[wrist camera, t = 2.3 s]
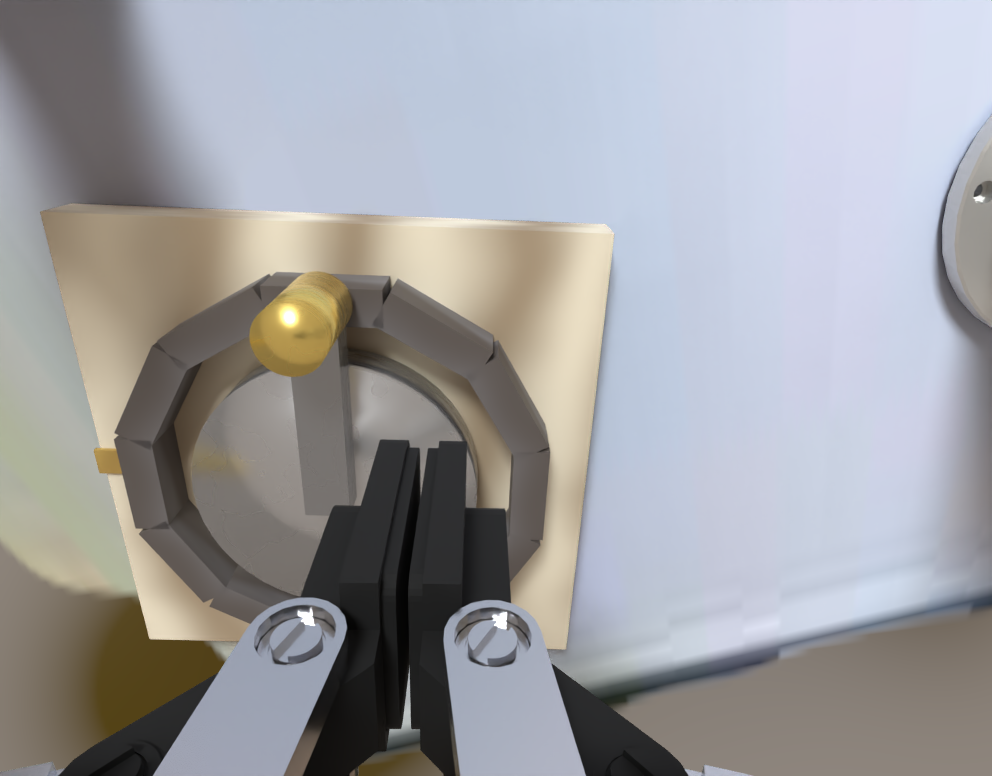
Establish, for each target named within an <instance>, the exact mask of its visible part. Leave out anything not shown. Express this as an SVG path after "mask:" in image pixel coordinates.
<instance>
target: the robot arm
mask: <svg viewBox="0 0 992 776" xmlns="http://www.w3.org/2000/svg"><path fill="white" fill-rule="evenodd" d="M942 254H943V258H944V263H945V267H946V271H947V276H948V279H949V281H950V283H951V285H952V287H953V289H954V291H955V293H956V295H957V297H958V299H959V300H960V301H961V302H962V303H963V304H964V306H965V307H966V308H967V309H968V310H969V311H970V312H971V313H972V315H973V316H974V317H976V318H977V319H979V320H980V321H982V322H984V323H985V324H987V325H988V326H990V327H991V328H992V115H991V116H990V118H989V119H988V120H987V121H986V123H985V124H984V125H983V127H982V128H981V129H980V131H979V132H978V133H977V135H976V137H975V138H974V140H973V142H972V144H971V145H970V147H969V149H968V151H967V153H966V154H965V156H964V158H963V160H962V162H961V163H960V165H959V168H958V170H957V173H956V176H955V178H954V181H953V184H952V186H951V189H950V192H949V195H948V198H947V203H946V209H945V214H944V219H943V225H942ZM466 469H467V441H439V447H438V448H428V451H427V458H426V465H425V472H424V478H423V485H422V492H421V482H420V448H415V447H410V443H409V440H387V439H381V440H380V441H379V445H378V448H377V451H376V455H375V458H374V462H373V465H372V469H371V472H370V475H369V479H368V482H367V486H366V489H365V493H364V496H363V499H362V503H361V506H353V505H335V506H334V507H333V508H332V510H331V513H330V515H329V518H328V521H327V524H326V527H325V529H324V532H323V535H322V538H321V540H320V543H319V546H318V549H317V552H316V554H315V557H314V560H313V563H312V565H311V568H310V571H309V574H308V577H307V579H306V582H305V585H304V588H303V590H302V593H301V596H300V598H296V599H291V600H286V601H283V602H281V603H278V604H276V605H274V606H271V607H269V608H268V609H267V610H265V611H264V612H262V613H261V614H260V615H258V616H257V617H256V618H255V619H254V621H253V622H252V623H251V624H250V625H249V626H248V628H247V629H246V631H245V632H244V634H243V635H242V637H241V639H240V640H239V642H238V643H237V645H236V646H235V648H234V650H233V651H232V653H231V654H230V656H229V657H228V659H227V661H226V662H225V664H224V665H223V667H222V668H221V670H220V672H219V673H217V674H216V675H214V676H212V677H210V678H208V679H207V680H205V681H203V682H202V683H200V684H198V685H197V686H195V687H194V688H191V689H190V690H188V691H186V692H185V693H183V694H181V695H180V696H178V697H176V698H175V699H173V700H171V701H169V702H168V703H166V704H164V705H162V706H161V707H159V708H157V709H156V710H154V711H152V712H151V713H149V714H147V715H146V716H144V717H142V718H140V719H139V720H137V721H135V722H133V723H132V724H130V725H128V726H127V727H125V728H123V729H122V730H120V731H118V732H116V733H115V734H113V735H111V736H110V737H108V738H106V739H105V740H103V741H101V742H100V743H98V744H96V745H94V746H93V747H91V748H90V749H88V750H87V751H86V752H84V753H83V754H81V755H80V756H79V757H77V758H76V759H74V760H73V761H72V762H71V763H70V764H69V765H68V766H67V767H66V768H65V769H60V770H56V769H55V767H54V764H53V762H49V763H44V764H39V765H34V766H29V767H23V768H19V769H13V770H8V771H4V772H0V776H358V766H359V765H361V764H362V763H363V762H364V761H366V760H367V759H368V758H369V757H371V756H372V755H373V754H374V753H375V752H377V751H386V749H387V742H388V735H389V729H401V727H402V721H403V714H404V706H405V698H406V689H407V681H408V673H409V665H410V698H411V728H412V729H420V745H421V751H422V752H423V753H424V754H425V755H426V756H427V757H428V758H429V759H430V760H431V761H432V762H433V763H434V764H435V765H436V766H437V767H438V768H439V769H440V770H441V772H442V773H443V776H752V775H748V774H743V773H739V772H735V771H730V770H726V769H721V768H717V767H712V766H708V765H704V767H703V771H702V773H700V772H696V771H692V770H687V769H684V768H683V766H682V765H681V763H680V762H679V761H678V760H677V759H676V758H675V757H674V756H673V755H672V754H671V753H670V752H668V751H667V750H666V749H665V748H664V747H662V746H661V745H660V744H658V743H657V742H656V741H654V740H653V739H652V738H650V737H649V736H648V735H646V734H645V733H643V732H642V731H641V730H639V729H638V728H637V727H635V726H634V725H633V724H632V723H630V722H629V721H628V720H626V719H625V718H624V717H622V716H621V715H620V714H618V713H617V712H616V711H614V710H613V709H612V708H610V707H609V706H608V705H606V704H605V703H604V702H602V701H601V700H600V699H598V698H597V697H596V696H594V695H593V694H592V693H590V692H589V691H588V690H586V689H585V688H584V687H582V686H581V685H580V684H578V683H577V682H576V681H574V680H573V679H572V678H570V677H569V676H568V675H566V674H565V673H564V672H562V671H561V670H560V669H558V668H557V667H555V666H554V665H553V664H551V661H550V658H549V655H548V651H547V648H546V645H545V642H544V638H543V635H542V632H541V629H540V628H539V626H538V624H537V622H536V620H535V619H534V618H533V617H532V616H531V615H530V614H529V613H528V612H527V611H526V610H524V609H522V608H520V607H518V606H517V605H515V604H512V603H511V591H510V575H509V558H508V542H507V525H506V511H505V508H466Z"/></svg>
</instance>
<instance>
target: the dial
mask: <svg viewBox="0 0 992 776" xmlns="http://www.w3.org/2000/svg"><path fill="white" fill-rule="evenodd" d="M352 310H353V302H352V297H351V294H350V292H349V290H348V288H347V287H346V286H345V284H344V283H343V282H342V281H341V280H339V279H338V278H337V277H335V276H333V275H331V274H329V273H326V272H321V271H312V272H307V273H304V274H302V275H300V276H299V277H297V278H296V279H295V280H294V281H293V282H292V283H291V284H290V285H289V286H288V287H287V288H286V289H285V290H283V291H282V292H281V293H280V294H279V295H278V296H277V297H276V298H275V299H274V300H273V301H272V302H271V303H270V304H269V305H267V306H266V307H265V308H264V309H263V310H262V311H261V312H260V313H259V314H258V315H257V316H256V317H255V319H254V320H253V322H252V325H251V328H250V333H249V338H250V345H251V348H252V350H253V352H254V354H255V356H256V357H257V359H258V360H259V361H260V362H261V363H262V364H263V365H261V366H259V367H258V368H256V369H255V370H253V371H251V372H250V373H249V374H248V375H247V376H246V377H244V378H243V379H242V380H241V381H240V382H239V383H238V384H237V385H236V386H235V387H234V388H233V390H232V391H231V392H230V393H229V394H228V395H227V396H226V397H225V399H224V400H223V401H222V402H221V403H220V404H219V406H218V407H217V408H216V409H215V410H214V411H213V413H212V414H211V415H210V416H209V418H208V419H207V421H206V423H205V424H204V426H203V428H202V429H201V432H200V434H199V437H198V439H197V442H196V444H195V448H194V453H193V458H192V471H191V478H192V487H193V493H194V497H195V501H196V504H197V508H198V510H199V512H200V515H201V517H202V519H203V522H204V523H205V525H206V527H207V528H208V530H209V532H210V533H211V535H212V537H213V538H214V539H215V540H216V542H217V543H218V544H219V545H220V547H221V548H222V549H223V550H224V551H225V552H226V553H227V554H228V555H229V556H230V557H231V558H232V559H233V560H234V561H235V562H236V563H237V564H239V565H240V566H241V567H242V568H244V569H245V570H246V571H247V572H249V573H250V574H252V575H254V576H255V577H257V578H258V579H260V580H261V581H263V582H265V583H267V584H269V585H271V586H273V587H275V588H277V589H279V590H282V591H285V592H287V593H290V594H292V595H296V596H299V597H300V596H301V593H302V590H303V588H304V585H305V582H306V579H307V577H308V574H309V571H310V568H311V565H312V563H313V560H314V557H315V554H316V552H317V549H318V546H319V543H320V540H321V538H322V535H323V532H324V529H325V527H326V524H327V521H328V518H329V515H330V513H331V510H332V508H333V507H334V506H335V505H353V506H361V503H362V499H363V496H364V493H365V489H366V486H367V482H368V479H369V475H370V472H371V469H372V465H373V462H374V458H375V455H376V451H377V448H378V445H379V441H380V440H381V439H387V440H409V443H410V447H415V448H420V482H421V492H422V485H423V478H424V472H425V465H426V458H427V451H428V448H438V447H439V441H467V469H466V508H476V503H477V483H478V468H477V457H476V452H475V447H474V443H473V440H472V437H471V435H470V432H469V429H468V427H467V426H466V424H465V422H464V420H463V418H462V416H461V415H460V413H459V412H458V410H457V409H456V408H455V406H454V405H453V403H452V402H451V401H450V400H449V399H448V398H447V397H446V395H445V394H444V393H443V392H442V391H441V390H440V389H439V388H438V387H436V386H435V385H434V384H433V383H432V382H430V381H429V380H428V379H427V378H426V377H424V376H422V375H421V374H419V373H418V372H416V371H415V370H413V369H412V368H410V367H408V366H406V365H404V364H402V363H400V362H398V361H396V360H394V359H391V358H388V357H385V356H382V355H379V354H376V353H373V352H368V351H364V350H359V349H353V348H347V333H346V324H347V323H348V321H349V320H350V317H351V315H352Z"/></svg>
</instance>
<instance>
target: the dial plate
mask: <svg viewBox="0 0 992 776" xmlns="http://www.w3.org/2000/svg"><path fill="white" fill-rule="evenodd" d="M40 214H41V217H42V221H43V225H44V229H45V233H46V237H47V241H48V245H49V249H50V253H51V256H52V260H53V264H54V268H55V272H56V276H57V280H58V284H59V288H60V292H61V295H62V299H63V303H64V307H65V311H66V315H67V319H68V323H69V327H70V330H71V334H72V338H73V342H74V346H75V350H76V354H77V358H78V362H79V366H80V369H81V373H82V377H83V381H84V385H85V389H86V393H87V397H88V401H89V405H90V408H91V412H92V416H93V420H94V424H95V428H96V432H97V436H98V440H99V444H100V447H101V448H96V449H94V454H95V457H96V461H97V465H98V469H99V473H107V475H108V479H109V483H110V486H111V490H112V494H113V498H114V502H115V506H116V510H117V514H118V518H119V521H120V525H121V529H122V533H123V537H124V541H125V545H126V549H127V553H128V557H129V560H130V564H131V568H132V572H133V576H134V580H135V584H136V588H137V592H138V596H139V599H140V603H141V607H142V611H143V615H144V619H145V623H146V627H147V631H148V635H149V638H150V639H168V640H208V641H239V640H240V639H241V637H242V635H243V634H244V632H245V631H246V629H247V628H248V626H249V625H250V624H251V623H252V622H253V621H254V619H255V618H256V617H257V616H258V615H260V614H261V613H262V612H264V611H265V610H267V609H268V608H269V607H271V606H274V605H276V604H278V603H281V602H283V601H286V600H291V599H296V598H300V597H299V596H296V595H292V594H290V593H287V592H285V591H282V590H279V589H277V588H275V587H273V586H271V585H269V584H267V583H265V582H263V581H261V580H260V579H258V578H257V577H255V576H254V575H252V574H250V573H249V572H247V571H246V570H245V569H244V568H242V567H241V566H240V565H239V564H237V563H236V562H235V561H234V560H233V559H232V558H231V557H230V556H229V555H228V554H227V553H226V552H225V551H224V550H223V549H222V548H221V547H220V545H219V544H218V543H217V542H216V540H215V539H214V538H213V537H212V535H211V533H210V532H209V530H208V528H207V527H206V525H205V523H204V522H203V519H202V517H201V515H200V512H199V510H198V508H197V504H196V501H195V497H194V493H193V487H192V478H191V471H192V458H193V453H194V448H195V444H196V442H197V439H198V437H199V434H200V432H201V429H202V428H203V426H204V424H205V423H206V421H207V419H208V418H209V416H210V415H211V414H212V413H213V411H214V410H215V409H216V408H217V407H218V406H219V404H220V403H221V402H222V401H223V400H224V399H225V397H226V396H227V395H228V394H229V393H230V392H231V391H232V390H233V388H234V387H235V386H236V385H237V384H238V383H239V382H240V381H241V380H242V379H243V378H244V377H246V376H247V375H248V374H249V373H250V372H251V371H253V370H255V369H256V368H258V367H259V366H261V365H263V364H262V363H261V362H260V361H259V360H258V359H257V357H256V356H255V354H254V352H253V350H252V348H251V345H250V338H249V333H250V328H251V325H252V322H253V320H254V319H255V317H256V316H257V315H258V314H259V313H260V312H261V311H262V310H263V309H264V308H265V307H266V306H267V305H269V304H270V303H271V302H272V301H273V300H274V299H275V298H276V297H277V296H278V295H279V294H280V293H281V292H282V291H283V290H285V289H286V288H287V287H288V286H289V285H290V284H291V283H292V282H293V281H294V280H295V279H296V278H297V277H299V276H300V275H302V274H304V273H307V272H312V271H321V272H326V273H329V274H331V275H333V276H335V277H337V278H338V279H339V280H341V281H342V282H343V283H344V284H345V286H346V287H347V288H348V290H349V292H350V294H351V297H352V302H353V310H352V315H351V317H350V320H349V321H348V323H347V324H346V333H347V348H353V349H359V350H364V351H368V352H373V353H376V354H379V355H382V356H385V357H388V358H391V359H394V360H396V361H398V362H400V363H402V364H404V365H406V366H408V367H410V368H412V369H413V370H415V371H416V372H418V373H419V374H421V375H422V376H424V377H426V378H427V379H428V380H429V381H430V382H432V383H433V384H434V385H435V386H436V387H438V388H439V389H440V390H441V391H442V392H443V393H444V394H445V395H446V397H447V398H448V399H449V400H450V401H451V402H452V403H453V405H454V406H455V408H456V409H457V410H458V412H459V413H460V415H461V416H462V418H463V420H464V422H465V424H466V426H467V427H468V429H469V432H470V435H471V437H472V440H473V443H474V447H475V452H476V457H477V468H478V483H477V503H476V508H505V511H506V525H507V542H508V558H509V575H510V591H511V603H512V604H515V605H517V606H518V607H520V608H522V609H524V610H526V611H527V612H528V613H529V614H530V615H531V616H532V617H533V618H534V619H535V620H536V622H537V624H538V626H539V628H540V629H541V632H542V635H543V638H544V642H545V645H546V648H547V649H566V645H567V636H568V628H569V619H570V610H571V602H572V593H573V585H574V576H575V567H576V559H577V550H578V542H579V533H580V524H581V516H582V507H583V499H584V490H585V481H586V473H587V464H588V456H589V447H590V438H591V430H592V421H593V413H594V404H595V395H596V387H597V378H598V370H599V361H600V352H601V344H602V335H603V327H604V318H605V309H606V301H607V292H608V284H609V275H610V266H611V258H612V249H613V241H614V233H613V232H612V231H611V229H610V228H609V227H608V226H607V225H606V224H586V223H561V222H535V221H509V220H484V219H458V218H432V217H407V216H381V215H355V214H330V213H304V212H278V211H253V210H227V209H201V208H176V207H150V206H124V205H99V204H73V203H71V204H68V205H64V206H60V207H56V208H52V209H48V210H44V211H41V212H40Z"/></svg>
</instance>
